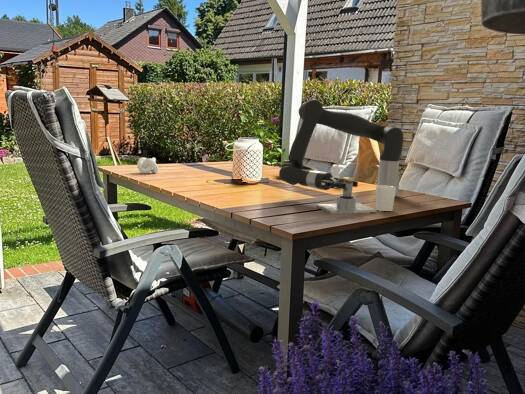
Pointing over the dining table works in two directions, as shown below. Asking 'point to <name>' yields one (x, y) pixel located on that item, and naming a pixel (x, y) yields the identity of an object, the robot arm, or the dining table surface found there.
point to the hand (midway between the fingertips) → (351, 185)
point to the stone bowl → (302, 168)
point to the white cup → (385, 197)
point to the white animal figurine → (147, 165)
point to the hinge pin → (348, 187)
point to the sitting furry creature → (335, 171)
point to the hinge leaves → (345, 207)
